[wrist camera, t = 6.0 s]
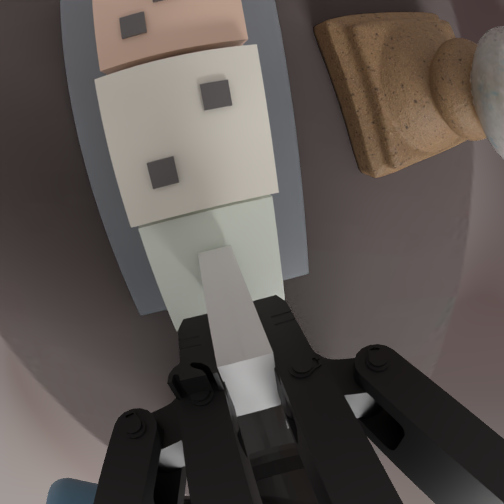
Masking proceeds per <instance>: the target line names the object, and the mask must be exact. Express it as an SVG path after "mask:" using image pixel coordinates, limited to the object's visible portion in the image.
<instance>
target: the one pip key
mask: <svg viewBox="0 0 504 504" xmlns="http://www.w3.org/2000/svg"><path fill="white" fill-rule="evenodd" d="M138 230H139V233H140V236H141V239H142V242H143V245H144V248H145V251H146V254H147V257H148V260H149V262H150V265H151V268H152V271H153V273H154V276H155V279H156V282H157V284H158V287H159V290H160V292H161V295H162V297H163V300H164V302H165V305H166V308H167V310H168V312H169V315H170V317H171V320H172V322H173V325H174V327H175V329H176V331H178V329H179V327H180V325H181V323H182V321H183V319H186V318H191V317H195V316H199V315H203V314H207V309H206V303H205V296H204V290H203V284H202V278H201V271H200V264H199V258H198V253H201V252H205V251H209V250H213V249H217V248H221V247H225V246H229V245H231V247H232V249H233V252H234V255H235V257H236V260H237V262H238V265H239V268H240V270H241V273H242V275H243V278H244V280H245V283H246V286H247V288H248V291H249V293H250V296H251V298H252V301H255V300H259V299H262V298H266V297H270V296H274V295H277V296H279V297H280V298H282V299H283V300H285V296H284V287H283V278H282V269H281V261H280V252H279V244H278V236H277V228H276V220H275V212H274V204H273V197H272V196H271V195H270V194H269V195H264V196H260V197H255V198H250V199H246V200H241V201H237V202H232V203H228V204H224V205H219V206H215V207H211V208H207V209H202V210H198V211H194V212H190V213H186V214H182V215H178V216H174V217H170V218H166V219H162V220H159V221H155V222H151V223H147V224H143V225H140V226H139V228H138Z"/></svg>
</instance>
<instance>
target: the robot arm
mask: <svg viewBox="0 0 504 504" xmlns="http://www.w3.org/2000/svg"><path fill="white" fill-rule="evenodd" d="M198 258H199V264H200V271H201V278H202V284H203V290H204V296H205V303H206V309H207V314H203V315H199V316H195V317H191V318H186V319H183V321H182V323H181V325H180V327H179V329H178V335H179V349H180V351H179V352H180V364H179V365H177V366H176V367H175V368H173V370H172V371H171V373H170V374H169V377H168V382H167V383H168V385H169V386H170V388H171V390H172V391H173V393H174V395H175V396H176V399H175V400H174V401H173V402H172V403H170V404H169V405H167V406H165V407H163V408H161V409H159V410H157V411H155V412H153V413H150V412H149V411H148V410H144V409H140V408H139V409H131V410H129V411H127V412H124V413H123V414H122V415H121V416H120V417H119V418H118V420H117V421H116V423H115V426H114V429H113V432H112V435H111V439H110V442H109V446H108V449H107V453H106V457H105V460H104V464H103V467H102V471H101V475H100V478H99V482H98V484H96V483H90V482H86V481H81V480H77V479H72V478H63V479H59V480H57V481H55V482H54V483H53V484H52V485H51V487H50V489H49V492H48V497H47V502H46V504H403V503H402V501H401V499H400V497H399V495H398V494H397V491H396V490H395V488H394V486H393V484H392V482H391V480H390V479H389V477H388V475H387V473H386V471H385V469H384V467H383V466H382V464H381V462H380V460H379V458H378V456H377V454H376V453H375V451H374V449H373V447H372V445H371V443H370V442H369V440H368V438H369V439H370V440H371V441H372V442H373V443H374V444H375V445H376V446H377V447H378V448H379V449H380V450H381V451H382V452H383V453H384V454H385V455H386V456H387V457H388V458H389V459H390V460H391V461H392V462H393V463H394V464H395V465H396V466H397V467H398V468H399V469H400V470H401V471H402V472H403V473H404V474H405V475H406V476H407V477H408V478H409V479H410V480H411V481H412V482H413V483H414V484H415V485H416V486H418V488H419V489H421V490H422V491H423V492H424V493H425V494H426V495H427V496H428V497H429V498H430V499H431V500H432V501H433V502H434V503H435V504H504V439H503V438H502V437H501V436H499V435H498V434H497V433H496V432H495V431H493V430H492V429H491V428H490V427H489V426H487V425H486V424H485V423H484V422H482V421H481V420H480V419H479V418H478V417H476V416H475V415H474V414H473V413H471V412H470V411H469V410H468V409H466V408H465V407H464V406H463V405H462V404H460V403H459V402H458V401H457V400H455V399H454V398H453V397H452V396H450V395H449V394H448V393H447V392H445V391H444V390H443V389H442V388H440V387H439V386H438V385H437V384H435V383H434V382H433V381H432V380H431V379H429V378H428V377H427V376H426V375H424V374H423V373H422V372H421V371H419V370H418V369H417V368H415V367H414V366H413V365H412V364H410V363H409V362H408V361H407V360H405V359H404V358H403V357H402V356H400V355H399V354H398V353H397V352H395V351H394V350H393V349H391V348H389V347H387V346H384V345H379V344H376V345H369V346H367V347H364V348H362V349H361V350H360V351H359V352H358V353H357V354H356V357H355V358H351V359H340V360H332V359H327V358H324V357H321V356H320V355H318V354H317V353H315V352H314V351H313V349H312V348H311V346H310V345H309V343H308V341H307V339H306V337H305V335H304V334H303V332H302V330H301V328H300V326H299V324H298V323H297V321H296V320H295V317H294V315H293V313H291V310H290V308H289V306H288V304H287V302H286V301H285V300H283V299H282V298H280V297H279V296H277V295H274V296H270V297H266V298H262V299H259V300H255V301H252V298H251V296H250V293H249V291H248V288H247V286H246V283H245V280H244V278H243V275H242V273H241V270H240V268H239V265H238V262H237V260H236V257H235V255H234V252H233V249H232V247H231V245H229V246H225V247H221V248H217V249H213V250H209V251H205V252H201V253H198ZM367 437H368V438H367ZM186 478H187V481H188V487H189V494H190V496H184V495H185V486H186Z"/></svg>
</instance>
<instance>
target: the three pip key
mask: <svg viewBox="0 0 504 504" xmlns="http://www.w3.org/2000/svg"><path fill="white" fill-rule="evenodd" d="M92 5H93V18H94V28H95V37H96V46H97V53H98V60H99V67H100V71H101V72H103V73H105V74H107V75H109V74H112V73H115V72H118V71H121V70H124V69H127V68H131V67H134V66H138V65H141V64H145V63H149V62H153V61H157V60H161V59H165V58H169V57H174V56H178V55H183V54H188V53H194V52H199V51H205V50H211V49H218V48H226V47H234V46H242V45H243V44H244V43H245V42H246V41H247V40H248V35H247V29H246V24H245V18H244V13H243V8H242V2H241V0H92Z"/></svg>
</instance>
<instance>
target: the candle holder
mask: <svg viewBox="0 0 504 504" xmlns="http://www.w3.org/2000/svg"><path fill="white" fill-rule="evenodd" d="M314 34H315V37H316V40H317V43H318V46H319V48H320V51H321V54H322V56H323V59H324V62H325V64H326V67H327V70H328V72H329V75H330V78H331V81H332V84H333V87H334V89H335V92H336V95H337V98H338V101H339V105H340V108H341V111H342V114H343V117H344V121H345V124H346V127H347V131H348V134H349V138H350V141H351V145H352V149H353V152H354V155H355V158H356V162H357V165H358V168H359V170H360V171H361V173H364V174H366V175H369V176H371V177H374V178H378V177H382V176H385V175H388V174H391V173H393V172H396V171H398V170H401V169H403V168H405V167H407V166H410V165H412V164H414V163H416V162H419V161H421V160H424V159H426V158H429V157H431V156H434V155H436V154H439V153H441V152H443V151H445V150H448V149H450V148H452V147H454V146H456V145H458V144H460V143H462V142H464V141H466V140H472V141H477V140H482V139H485V138H487V139H488V141H489V142H490V144H491V146H492V147H493V148H494V150H495V151H496V152H497V153H498V155H499V156H500V157H502V158H503V159H504V27H496V28H493V29H491V30H489V31H487V32H486V33H485V34H484V35H483V36H482V38H481V39H480V41H479V42H478V44H475V43H474V42H472V41H469V40H466V39H462V38H455V35H454V33H453V30H452V28H451V26H450V24H449V23H448V22H447V21H444V20H439V18H438V16H437V15H436V14H432V13H424V12H385V13H368V14H356V15H348V16H343V17H338V18H333V19H328V20H326V21H324V22H322V23H320V24H318V25H316V26H315V27H314Z"/></svg>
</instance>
